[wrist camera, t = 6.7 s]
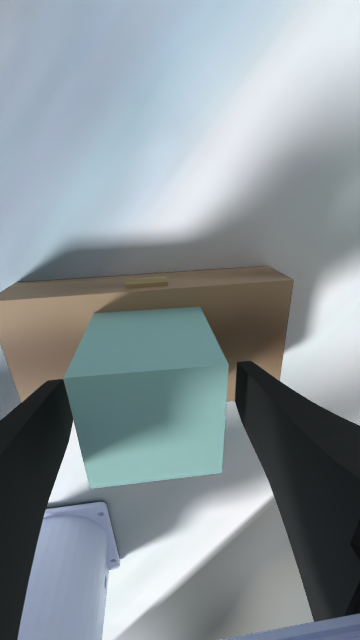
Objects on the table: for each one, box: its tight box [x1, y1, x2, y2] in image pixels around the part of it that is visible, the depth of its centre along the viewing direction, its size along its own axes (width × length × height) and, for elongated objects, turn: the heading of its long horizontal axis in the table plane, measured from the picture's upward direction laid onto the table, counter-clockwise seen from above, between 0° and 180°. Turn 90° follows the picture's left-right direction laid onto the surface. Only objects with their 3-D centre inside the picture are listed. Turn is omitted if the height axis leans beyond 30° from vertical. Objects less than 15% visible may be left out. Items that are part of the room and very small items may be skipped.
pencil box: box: [0, 266, 293, 403], centre depth 15 cm, size 7×14×3 cm, turn 92°
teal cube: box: [64, 307, 229, 489], centre depth 12 cm, size 5×5×5 cm
